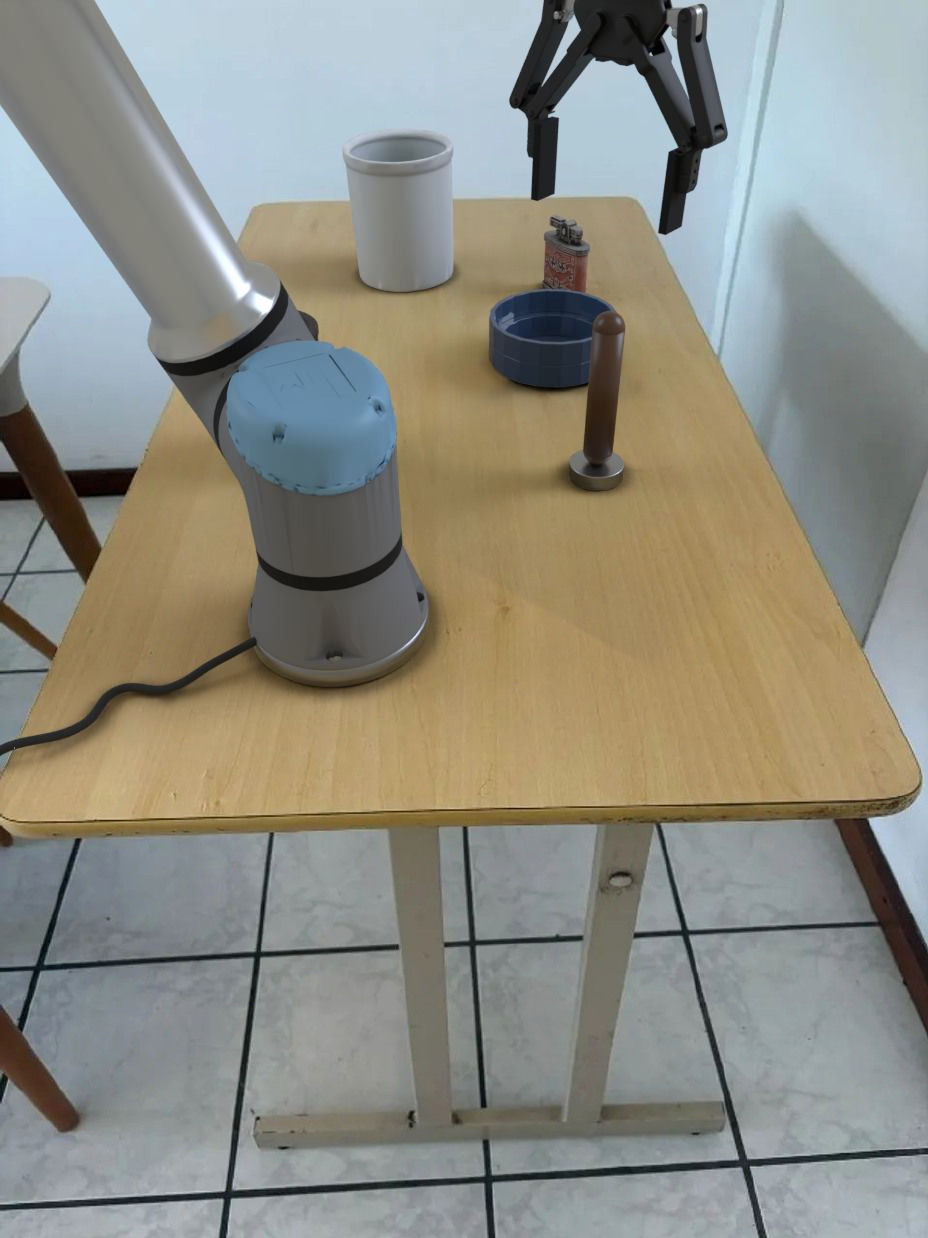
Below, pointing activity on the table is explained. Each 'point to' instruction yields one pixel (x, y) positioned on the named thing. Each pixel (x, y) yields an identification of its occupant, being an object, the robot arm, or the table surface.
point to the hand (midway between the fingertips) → (603, 212)
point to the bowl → (544, 336)
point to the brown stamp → (601, 408)
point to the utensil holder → (401, 207)
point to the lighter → (565, 256)
